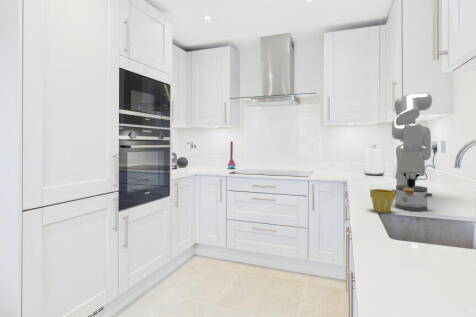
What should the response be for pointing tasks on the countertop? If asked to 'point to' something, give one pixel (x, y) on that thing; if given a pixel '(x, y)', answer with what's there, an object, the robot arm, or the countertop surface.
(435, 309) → the countertop surface
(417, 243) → the countertop surface
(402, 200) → the cooker
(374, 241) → the countertop surface
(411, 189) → the lid
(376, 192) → the plant pot
